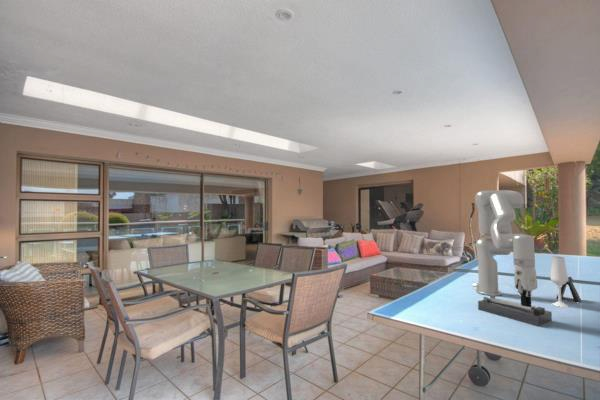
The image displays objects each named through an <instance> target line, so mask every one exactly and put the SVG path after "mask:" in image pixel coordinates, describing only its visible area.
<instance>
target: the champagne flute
mask: <svg viewBox="0 0 600 400" xmlns="http://www.w3.org/2000/svg"><path fill="white" fill-rule="evenodd" d="M567 276H568V271H567V265H566V260H565V256H564V257H563V256H556V255H555V256H554V255H553V256H551V265H550V275H549V277H550V280H551V282H552V283H554V284H555V285H556V286H557V295H558V299H557V300H558V301H555V302H553V303H551V305H552V304H553V305H552V306H554V305H555V306H556V307H559V306H560V307H561V308H569V307H568V306H569V305H568V304H566V303H564V302H563V301H562V300H561V287H562V285H564V284H565V283H566V282H567V281H569V279H568V277H567Z"/></svg>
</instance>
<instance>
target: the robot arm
mask: <svg viewBox="0 0 600 400" xmlns="http://www.w3.org/2000/svg"><path fill="white" fill-rule="evenodd" d="M474 200H475V201H474V202H475V205H476V208H477V211H478V232H479V234H480V235H481V236H484V237H482V238H479V239H477V240H476V241H475V249H476V255H477V268H478V269H477V270H478V271H477V272H478V273H477V277H478V278H477V279H478V283H476V282H473V283H472V287H473V288H474V287H475V288H476V289H475V292H476V293H478V294H480V295H484V296H491V295H493V296H495V297H496V296H502V295H503V293H502V291H500V290H499V276H498V274H499V271H498V262H497V260H496V259H495V258H494V256H508V255H510V254H511V253H513V266H514V275H513V276H514V278H513V282H514V288H515V289H517V293H519V296H520V303H521V305H524V306H528V307H529V306H531V305H532V298H531V297H532V292H533V291H535V290H537V289H538V279H537V271H536V256H535V238H534V237H533V235H530V234H524V233H513V230H512V229H513V228H512V224H511V223H512V222H513V221H514V220H516V218H517V214H516V212H515V209H518V208H522V207H523V205H524V202H525V201H524V197H523V195H522V194H521V192H519V191H514V190H510V189H509V190H508V189H507V190H505V189H500V190H499V189H496V190H479V191H478V192H477V193H476V194H475V199H474Z"/></svg>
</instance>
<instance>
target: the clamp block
mask: <svg viewBox="0 0 600 400" xmlns="http://www.w3.org/2000/svg"><path fill="white" fill-rule="evenodd" d="M489 296H490V297H487V296H484V297H483V299H481V300H478V301H477V309H478V311H483V312H485V313H490V314H493V315H497V316H500V317H504V318H506V319H511V320H514V321H518V322H521V323H525V324H527V325H532V326H535V327H537V328H538V327H540V326H543V325H547V324H548V322H549V323H551V322H553V317H552V311H550V310H546V309H545V307H541V306H538V307H535V308H534V309H532V310H529V309H525V308H520V307H515V306H510V305H505V304H500V303H496V302H491V301H488V298H496V296H493V295H489ZM550 321H551V322H550Z"/></svg>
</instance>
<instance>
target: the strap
mask: <svg viewBox="0 0 600 400" xmlns="http://www.w3.org/2000/svg"><path fill="white" fill-rule="evenodd" d="M487 298H488V301H491V302H496V303H500V304H505V305H510V306H515V307H520V308H525V309H529V310H532V309H534V308H536V305H532V304H531V306H529V307H528V306H524V305H521V302H517V301H512V300H511V301H510V300H505V299H502V298H501V299H500V298H496V297H495V298H490V297H487Z"/></svg>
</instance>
